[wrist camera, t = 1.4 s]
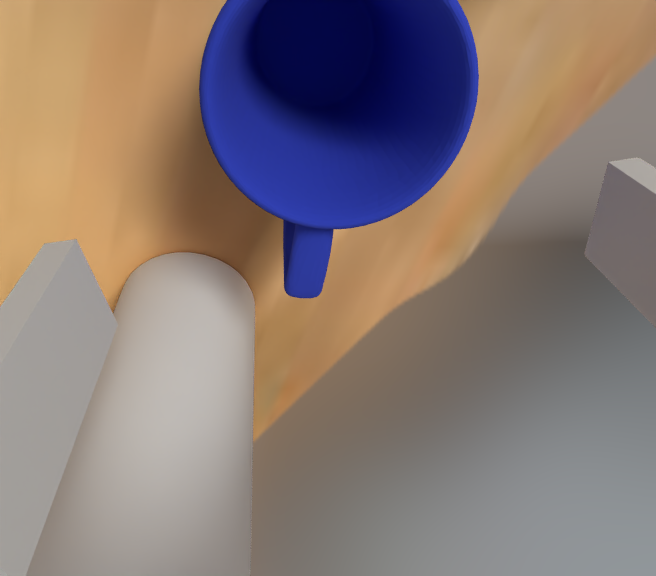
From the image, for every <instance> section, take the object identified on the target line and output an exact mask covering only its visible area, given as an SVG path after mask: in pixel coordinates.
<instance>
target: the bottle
mask: <svg viewBox="0 0 656 576" xmlns="http://www.w3.org/2000/svg"><path fill="white" fill-rule="evenodd" d="M113 315H114V317H115V319H116V321H117V323H118V326H117V329H116V332H115V334H114V337H113V340H112V342H111V345H110V348H109V351H108V353H107V356H106V359H105V361H104V364H103V367H102V370H101V372H100V375H99V378H98V380H97V383H96V386H95V389H94V391H93V394H92V397H91V399H90V402H89V405H88V408H87V410H86V413H85V416H84V418H83V421H82V424H81V427H80V429H79V432H78V435H77V437H76V440H75V443H74V446H73V448H72V451H71V454H70V456H69V459H68V462H67V465H66V467H65V470H64V473H63V475H62V478H61V481H60V484H59V486H58V489H57V492H56V494H55V497H54V500H53V503H52V505H51V508H50V511H49V513H48V516H47V519H46V522H45V524H44V527H43V530H42V532H41V535H40V538H39V541H38V543H37V546H36V549H35V551H34V554H33V557H32V560H31V562H30V565H29V568H28V570H27V573H26V576H250V570H251V569H250V568H251V515H252V460H253V405H254V351H255V301H254V297H253V293H252V291H251V289H250V287H249V285H248V284H247V282H246V281H245V279H244V278H243V277H242V276H241V275H240V274H239V273H238V272H237V271H236V270H235V269H233V268H232V267H231V266H230V265H228V264H226V263H224V262H222V261H220V260H218V259H216V258H213V257H210V256H207V255H203V254H197V253H191V252H176V253H169V254H164V255H161V256H158V257H155V258H152V259H150V260H148V261H147V262H145V263H143V264H141V265H140V266H139V267H138V268H137V269H135V270H134V271H133V272H132V273H131V275H130V276H129V278H128V279H127V281H126V282H125V284H124V286H123V289H122V292H121V294H120V297H119V299H118V302H117V305H116V307H115V310H114V313H113Z"/></svg>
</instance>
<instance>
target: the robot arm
mask: <svg viewBox="0 0 656 576" xmlns="http://www.w3.org/2000/svg"><path fill="white" fill-rule="evenodd" d="M585 256H586V257H587V258H588V259H589V260H590V261H591V262H592V263H593V264H594V265H595V266H596V267H597V268H598V269H599V270H600V271H601V273H602V274H603V275H604V276H605V277H607V279H609V281H610V282H612V284H613V285H614V286H616V288H617V289H618V290H619V291H620V292H621V293H622V294H623V295H624V296H625V297H626V298H627V299H628V300H629V301H630V302H631V303H632V304H633V305H634V306H635V307H636V308H637V309H638V310H639V311H640V312H641V313H642V314H643V315H644V316H645V317H646V318H647V319H648V320H649V321H650V322H651V323H652V324H653V325H654V326H655V327H656V168H655V167H653V166H652V165H650V164H648V163H647V162H645V161H643V160H642V159H640V158H632V159H626V160H618V161H611V162H608V165H607V169H606V173H605V176H604V181H603V184H602V188H601V192H600V196H599V200H598V204H597V208H596V211H595V215H594V219H593V223H592V227H591V231H590V235H589V239H588V243H587V247H586V250H585ZM117 326H118V323H117V321H116V319H115V317H114V315H113V313H112V311H111V309H110V307H109V305H108V303H107V301H106V299H105V297H104V295H103V293H102V291H101V289H100V287H99V285H98V283H97V281H96V279H95V276H94V274H93V272H92V270H91V268H90V266H89V264H88V262H87V260H86V258H85V256H84V254H83V252H82V250H81V248H80V246H79V244H78V242H77V240H76V239H74V240H67V241H60V242H53V243H46V244H44V245H43V246H42V248H41V249H40V251H39V252H38V254H37V255H36V256H35V258H34V259H33V261H32V262H31V264H30V265H29V266H28V268H27V269H26V271H25V272H24V274H23V275H22V277H21V278H20V279H19V281H18V282H17V284H16V285H15V287H14V288H13V289H12V291H11V292H10V294H9V295H8V297H7V298H6V299H5V301H4V302H3V304H2V305H1V307H0V576H26V573H27V570H28V568H29V565H30V562H31V560H32V557H33V554H34V551H35V549H36V546H37V543H38V541H39V538H40V535H41V532H42V530H43V527H44V524H45V522H46V519H47V516H48V513H49V511H50V508H51V505H52V503H53V500H54V497H55V494H56V492H57V489H58V486H59V484H60V481H61V478H62V475H63V473H64V470H65V467H66V465H67V462H68V459H69V456H70V454H71V451H72V448H73V446H74V443H75V440H76V437H77V435H78V432H79V429H80V427H81V424H82V421H83V418H84V416H85V413H86V410H87V408H88V405H89V402H90V399H91V397H92V394H93V391H94V389H95V386H96V383H97V380H98V378H99V375H100V372H101V370H102V367H103V364H104V361H105V359H106V356H107V353H108V351H109V348H110V345H111V342H112V340H113V337H114V334H115V332H116V329H117Z"/></svg>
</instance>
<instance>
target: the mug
mask: <svg viewBox="0 0 656 576" xmlns="http://www.w3.org/2000/svg"><path fill="white" fill-rule="evenodd" d="M478 79H479V75H478V59H477V53H476V47H475V43H474V39H473V35H472V32H471V29H470V26H469V23H468V20H467V18H466V16H465V14H464V12H463V10H462V8H461V6H460V4H459V2H458V1H457V0H227V1H226V3H225V4H224V6H223V7H222V9H221V11H220V13H219V15H218V16H217V18H216V20H215V22H214V25H213V27H212V29H211V32H210V34H209V37H208V40H207V43H206V46H205V50H204V54H203V58H202V65H201V71H200V85H199V93H200V107H201V114H202V120H203V124H204V128H205V132H206V135H207V138H208V141H209V143H210V146H211V148H212V150H213V153H214V155H215V157H216V158H217V160H218V162H219V164H220V166H221V167H222V169H223V170H224V172H225V173H226V175H227V176H228V177H229V179H230V180H231V181H232V182H233V183H234V185H235V186H236V187H237V188H238V189H239V190H240V191H241V192H242V193H243V194H244V195H245V196H246V197H247V198H249V199H250V200H251V201H252V202H254V203H255V204H256V205H258V206H259V207H261V208H262V209H264V210H265V211H267V212H269V213H271V214H273V215H275V216H277V217H279V218H281V219H283V220H284V228H283V251H284V288H285V291H286V293H287V294H288V295H290V296H292V297H297V298H314V297H317V296H318V295H319V294H320V293H321V291H322V287H323V283H324V279H325V276H326V271H327V266H328V262H329V257H330V252H331V245H332V238H333V229H347V228H354V227H359V226H364V225H368V224H371V223H375V222H378V221H381V220H383V219H386V218H388V217H390V216H392V215H394V214H396V213H398V212H400V211H402V210H403V209H405V208H407V207H408V206H410V205H412V204H413V203H414V202H416V201H417V200H418V199H420V198H421V197H422V196H423V195H424V194H426V193H427V192H428V191H429V190H430V189H431V188H432V187H433V186H434V185H435V184H436V183H437V182H438V181H439V180H440V179H441V177H442V176H443V175H444V174H445V173H446V171H447V170H448V168H449V167H450V166H451V164H452V163H453V161H454V160H455V158H456V156H457V155H458V153H459V151H460V149H461V147H462V145H463V143H464V141H465V139H466V137H467V134H468V132H469V129H470V126H471V122H472V119H473V116H474V112H475V107H476V102H477V95H478Z"/></svg>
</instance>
